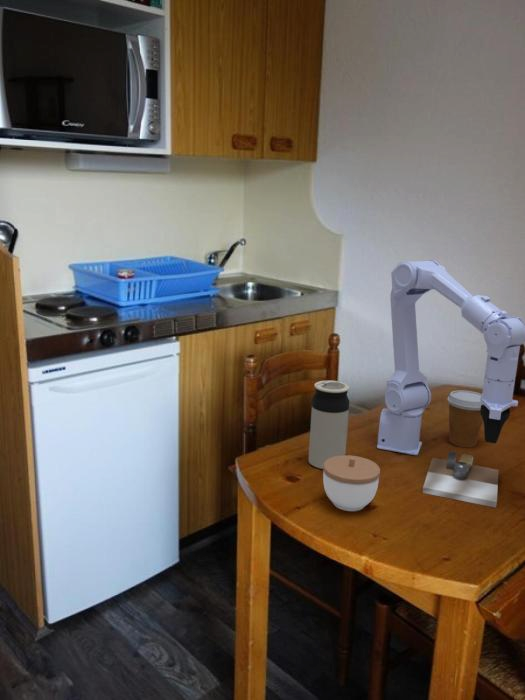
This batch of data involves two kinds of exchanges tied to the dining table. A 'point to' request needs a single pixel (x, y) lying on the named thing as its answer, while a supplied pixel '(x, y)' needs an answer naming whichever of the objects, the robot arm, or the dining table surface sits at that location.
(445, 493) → the door edge board
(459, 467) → the bar
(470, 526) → the dining table surface
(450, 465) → the keeper block
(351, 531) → the dining table surface
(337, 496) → the lidded jar
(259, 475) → the dining table surface
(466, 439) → the disposable coffee cup
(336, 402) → the travel mug
